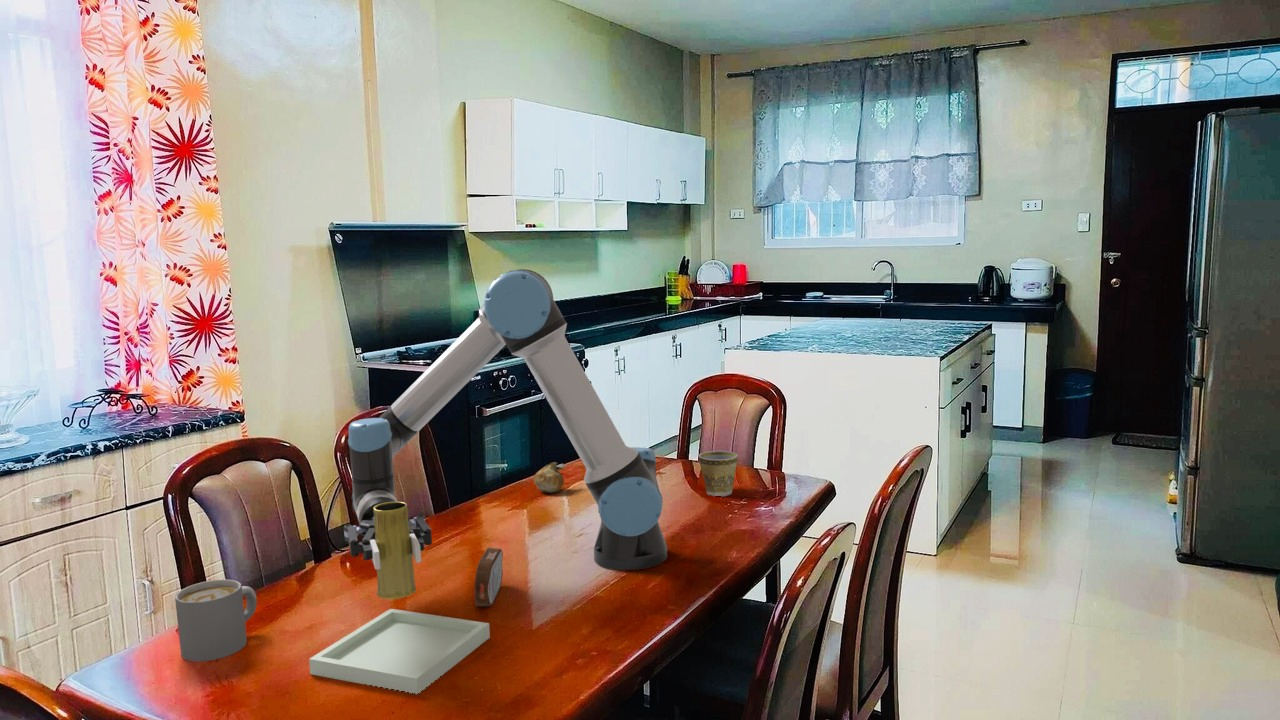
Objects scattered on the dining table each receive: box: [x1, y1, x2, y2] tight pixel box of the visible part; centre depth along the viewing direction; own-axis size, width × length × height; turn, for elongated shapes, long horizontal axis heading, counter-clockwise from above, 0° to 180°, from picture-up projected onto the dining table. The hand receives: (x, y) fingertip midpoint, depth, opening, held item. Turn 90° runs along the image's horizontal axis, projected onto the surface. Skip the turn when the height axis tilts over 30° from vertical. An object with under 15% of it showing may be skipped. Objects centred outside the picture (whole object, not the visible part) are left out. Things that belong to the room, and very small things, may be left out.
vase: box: [373, 500, 417, 600], centre depth 142 cm, size 6×6×14 cm
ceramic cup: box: [698, 450, 738, 497], centre depth 231 cm, size 13×10×10 cm
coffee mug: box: [174, 578, 258, 663], centre depth 150 cm, size 13×10×10 cm
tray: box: [308, 608, 491, 695], centre depth 144 cm, size 20×20×2 cm
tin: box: [474, 547, 504, 608], centre depth 166 cm, size 15×3×8 cm, turn 178°
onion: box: [533, 461, 565, 494], centre depth 236 cm, size 8×8×8 cm
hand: (397, 557), depth 137 cm, fingers closed on vase, 5 cm apart
